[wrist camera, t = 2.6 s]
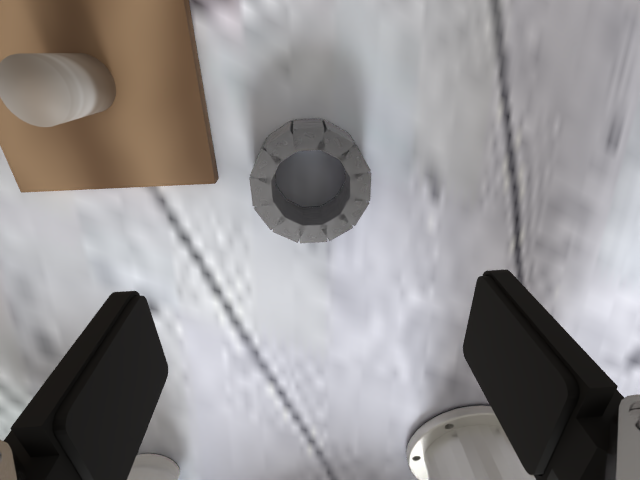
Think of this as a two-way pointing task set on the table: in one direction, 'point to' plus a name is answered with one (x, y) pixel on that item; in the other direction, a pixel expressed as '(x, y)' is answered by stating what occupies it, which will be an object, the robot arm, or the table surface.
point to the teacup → (153, 468)
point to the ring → (310, 220)
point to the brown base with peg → (102, 95)
